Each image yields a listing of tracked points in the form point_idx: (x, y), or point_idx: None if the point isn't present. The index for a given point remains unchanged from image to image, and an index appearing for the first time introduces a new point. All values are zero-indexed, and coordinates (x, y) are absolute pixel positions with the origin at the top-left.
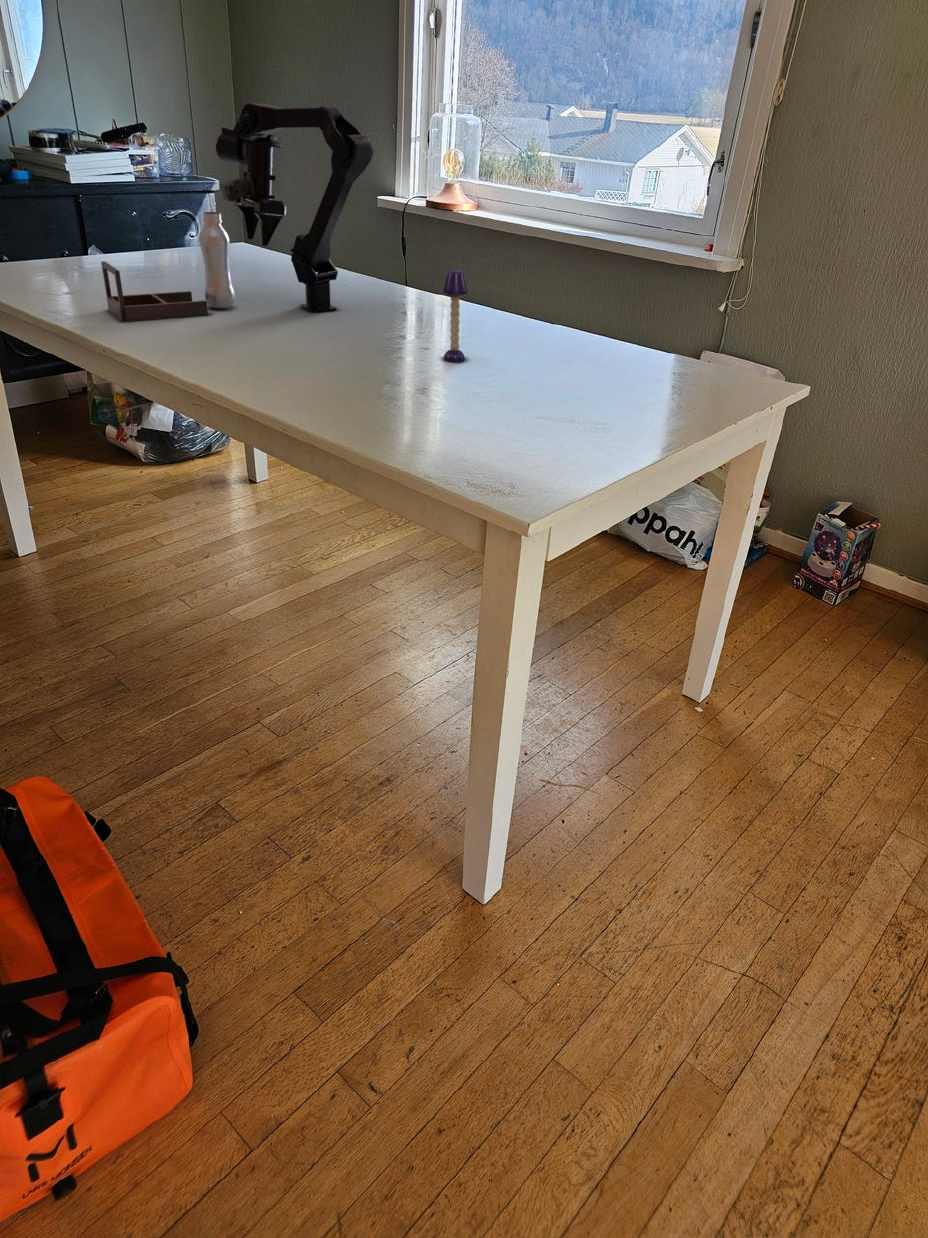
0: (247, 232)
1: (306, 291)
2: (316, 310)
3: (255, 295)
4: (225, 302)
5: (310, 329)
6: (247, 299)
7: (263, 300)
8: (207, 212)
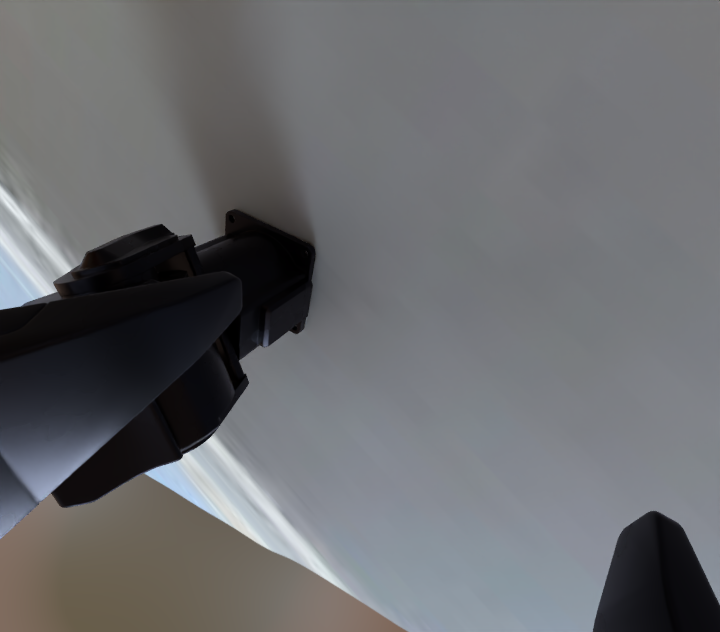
0: (665, 584)
1: (227, 254)
2: (226, 224)
3: (640, 278)
4: None
5: (65, 23)
6: (596, 163)
7: (507, 218)
8: None
